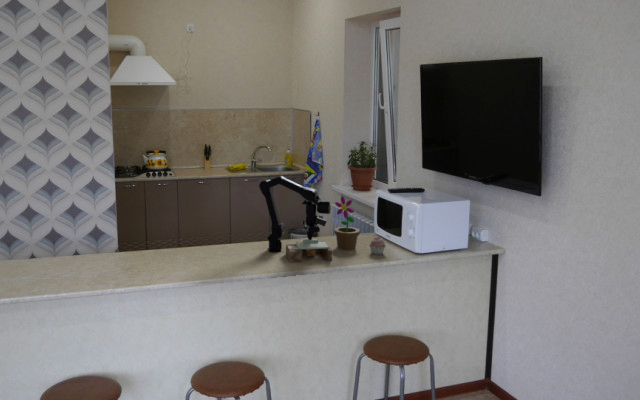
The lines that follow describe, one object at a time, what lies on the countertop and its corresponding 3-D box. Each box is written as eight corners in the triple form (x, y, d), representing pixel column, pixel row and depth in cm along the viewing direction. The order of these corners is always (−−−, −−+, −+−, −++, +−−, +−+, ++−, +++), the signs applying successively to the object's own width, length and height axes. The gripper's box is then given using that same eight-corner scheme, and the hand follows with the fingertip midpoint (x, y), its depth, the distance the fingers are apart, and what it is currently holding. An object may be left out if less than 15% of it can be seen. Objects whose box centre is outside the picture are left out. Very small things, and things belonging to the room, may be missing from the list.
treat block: (307, 256, 312) (307, 247, 311) (305, 253, 316) (305, 244, 315) (315, 255, 313) (315, 246, 312) (313, 253, 317) (313, 244, 316)
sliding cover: (298, 249, 303) (299, 245, 303) (295, 244, 313) (295, 239, 312) (329, 248, 307) (329, 244, 306) (324, 243, 316) (324, 239, 316)
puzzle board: (290, 262, 300) (290, 251, 299) (284, 252, 317) (284, 242, 316) (331, 260, 305) (332, 250, 304) (324, 250, 322) (324, 240, 321)
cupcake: (381, 256, 314) (382, 239, 312) (365, 254, 319) (366, 236, 317) (388, 252, 322) (389, 235, 320) (373, 250, 327) (373, 232, 325)
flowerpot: (328, 247, 328) (330, 195, 322) (342, 242, 340) (344, 191, 334) (350, 252, 320) (352, 199, 314) (363, 247, 332) (366, 195, 326)
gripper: (329, 216, 305) (328, 245, 308) (321, 208, 323) (320, 235, 326) (308, 216, 302) (307, 245, 305) (301, 208, 320) (301, 236, 323)
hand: (310, 240), depth 315 cm, fingers closed
